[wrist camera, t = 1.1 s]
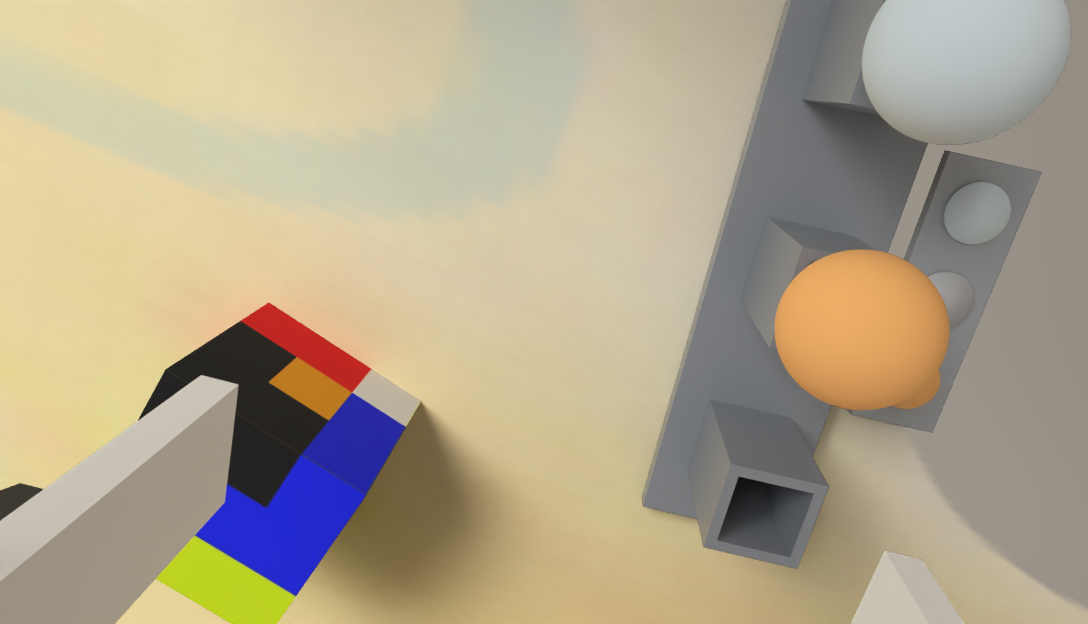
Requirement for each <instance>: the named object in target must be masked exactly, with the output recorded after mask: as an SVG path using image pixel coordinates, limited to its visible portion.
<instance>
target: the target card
mask: <svg viewBox="0 0 1088 624" xmlns="http://www.w3.org/2000/svg"><path fill="white" fill-rule="evenodd" d="M1041 173H1042V172H1039V171H1035V170H1031V169H1026V168H1022V167H1017V166H1013V165H1008V164H1004V163H999V162H995V161H991V160H986V159H981V158H977V157H973V156H968V155H964V154H959V153H955V152H950V151H944V154H943V156H942V159H941V162H940V164H939V167H938V170H937V172H936V175H935V178H934V180H933V183H932V186H931V188H930V191H929V194H928V196H927V199H926V202H925V204H924V207H923V210H922V212H921V215H920V218H919V220H918V223H917V226H916V228H915V231H914V234H913V236H912V239H911V241H910V244H909V247H908V250H907V252H906V255H905V257H904V260H906V261H908V262H909V263H911V264H912V265H914V266H915V267H917V268H918V269H919V270H920V271H921V272H923V273H924V274H925V275H926V276H927V277H928V278H929V279H930V280H931V281H932V283H933V284H934V285H935V287H936V288H937V290H938V292H939V293H940V295H941V296H942V299H943V301H944V303H945V306H946V310H947V314H948V318H949V326H950V334H949V342H948V348H947V352H946V355H945V358H944V360H943V362H942V364H941V366H940V368H939V370H938V371H937V373H936V374H935V376H934V377H933V378H932V379H931V381H930V382H929V383H928V384H927V385H926V386H925V387H924V388H923V389H921V390H920V391H919V392H918V393H916V394H915V395H913V396H912V397H910V398H908V399H907V400H905V401H903V402H900V403H898V404H896V405H893V406H889V407H886V408H881V409H874V410H851V409H847V410H848V411H849V412H850V414H852V415H857V416H861V417H865V418H870V419H874V420H879V421H883V422H887V423H892V424H896V425H900V426H905V427H909V428H914V429H918V430H922V431H927V432H931V433H932V432H933V430H934V428H935V425H936V423H937V420H938V418H939V416H940V413H941V411H942V409H943V406H944V404H945V401H946V399H947V397H948V394H949V392H950V390H951V387H952V385H953V382H954V380H955V378H956V375H957V373H958V370H959V368H960V366H961V363H962V361H963V359H964V356H965V354H966V351H967V349H968V347H969V344H970V342H971V340H972V337H973V335H974V332H975V330H976V328H977V325H978V323H979V321H980V318H981V316H982V313H983V311H984V308H985V306H986V304H987V302H988V299H989V297H990V294H991V292H992V290H993V287H994V285H995V283H996V280H997V278H998V275H999V273H1000V271H1001V268H1002V266H1003V264H1004V261H1005V259H1006V256H1007V254H1008V252H1009V249H1010V247H1011V244H1012V242H1013V240H1014V237H1015V235H1016V232H1017V230H1018V228H1019V225H1020V223H1021V221H1022V218H1023V216H1024V213H1025V211H1026V208H1027V206H1028V204H1029V202H1030V199H1031V197H1032V195H1033V192H1034V190H1035V187H1036V185H1037V183H1038V180H1039V178H1040V175H1041Z"/></svg>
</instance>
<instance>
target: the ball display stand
mask: <svg viewBox="0 0 1088 624" xmlns="http://www.w3.org/2000/svg"><path fill="white" fill-rule="evenodd" d="M885 1H886V0H787V1H786V4H785V8H784V11H783V14H782V18H781V21H780V25H779V28H778V32H777V35H776V38H775V42H774V45H773V49H772V52H771V56H770V59H769V62H768V66H767V69H766V73H765V76H764V80H763V83H762V86H761V90H760V93H759V97H758V100H757V104H756V107H755V110H754V114H753V117H752V121H751V124H750V128H749V131H748V134H747V138H746V141H745V145H744V148H743V152H742V155H741V159H740V162H739V165H738V169H737V172H736V176H735V179H734V183H733V186H732V189H731V193H730V196H729V200H728V203H727V207H726V210H725V213H724V217H723V220H722V224H721V227H720V231H719V234H718V237H717V241H716V244H715V248H714V251H713V255H712V258H711V261H710V265H709V268H708V272H707V275H706V279H705V282H704V285H703V289H702V292H701V296H700V299H699V303H698V306H697V309H696V313H695V316H694V320H693V323H692V327H691V330H690V333H689V337H688V340H687V344H686V347H685V351H684V354H683V358H682V361H681V364H680V368H679V371H678V375H677V378H676V382H675V385H674V388H673V392H672V395H671V399H670V402H669V406H668V409H667V412H666V416H665V419H664V423H663V426H662V430H661V433H660V436H659V440H658V443H657V447H656V450H655V454H654V457H653V460H652V464H651V467H650V471H649V474H648V478H647V481H646V484H645V488H644V491H643V495H642V504H643V507H647V508H652V509H656V510H660V511H665V512H669V513H673V514H678V515H682V516H686V517H691V518H695V519H698V524H699V529H700V533H701V538H702V543H703V547H705V548H709V549H713V550H718V551H722V552H726V553H731V554H735V555H739V556H744V557H748V558H752V559H756V560H761V561H765V562H769V563H774V564H778V565H782V566H787V567H791V568H795V569H798V566H799V564H800V561H801V558H802V556H803V553H804V551H805V548H806V545H807V543H808V540H809V537H810V535H811V532H812V530H813V527H814V524H815V522H816V519H817V516H818V514H819V511H820V509H821V506H822V503H823V501H824V498H825V496H826V493H827V490H828V488H829V486H828V484H827V482H826V481H825V479H824V477H823V475H822V473H821V471H820V470H819V468H818V466H817V464H816V462H815V461H814V459H813V454H814V451H815V449H816V446H817V443H818V441H819V438H820V435H821V432H822V430H823V427H824V424H825V422H826V419H827V416H828V413H829V411H830V408H831V405H830V404H828V403H825V402H823V401H821V400H819V399H817V398H816V397H814V396H812V395H811V394H809V393H808V392H806V391H805V390H804V389H803V388H802V387H800V386H799V385H798V383H797V382H796V381H795V380H794V379H793V378H792V377H791V376H790V374H789V373H788V371H787V370H786V368H785V367H784V365H783V363H782V361H781V358H780V356H779V353H778V350H777V347H776V341H775V316H776V312H777V308H778V305H779V302H780V300H781V298H782V296H783V294H784V292H785V290H786V289H787V287H788V286H789V284H790V283H791V282H792V280H793V279H794V278H795V277H796V276H797V275H798V274H799V273H800V272H801V271H802V270H804V269H805V268H806V267H807V266H809V265H810V264H812V263H814V262H815V261H817V260H819V259H821V258H823V257H825V256H828V255H831V254H834V253H837V252H841V251H846V250H856V249H861V250H875V251H882V252H885V253H888V250H889V248H890V245H891V242H892V239H893V237H894V234H895V231H896V229H897V226H898V223H899V220H900V218H901V215H902V212H903V209H904V207H905V204H906V201H907V198H908V196H909V193H910V190H911V188H912V185H913V182H914V179H915V177H916V174H917V171H918V169H919V166H920V163H921V160H922V158H923V155H924V152H925V150H926V147H927V144H928V143H926V142H922V141H919V140H916V139H913V138H911V137H908V136H906V135H904V134H902V133H900V132H899V131H897V130H896V129H894V128H893V127H892V126H890V125H889V124H888V123H887V122H886V121H885V120H884V119H883V118H882V117H881V116H880V115H879V113H878V112H877V111H876V110H875V108H874V106H873V105H872V103H871V101H870V99H869V97H868V94H867V92H866V89H865V85H864V81H863V74H862V56H863V48H864V44H865V40H866V36H867V33H868V31H869V28H870V26H871V23H872V22H873V20H874V18H875V16H876V14H877V12H878V11H879V9H880V8H881V7H882V5H883V4H884V2H885Z"/></svg>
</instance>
